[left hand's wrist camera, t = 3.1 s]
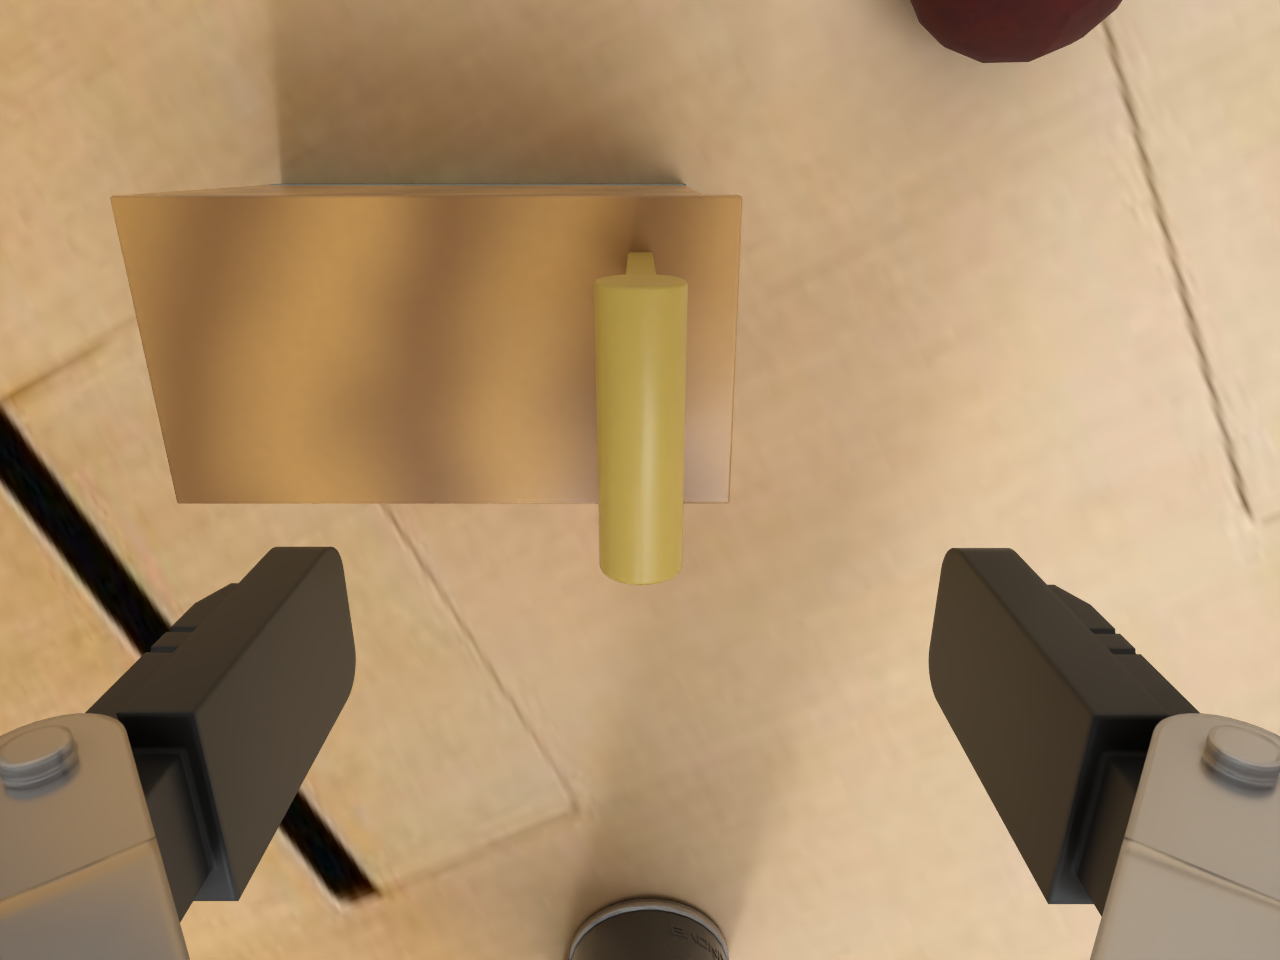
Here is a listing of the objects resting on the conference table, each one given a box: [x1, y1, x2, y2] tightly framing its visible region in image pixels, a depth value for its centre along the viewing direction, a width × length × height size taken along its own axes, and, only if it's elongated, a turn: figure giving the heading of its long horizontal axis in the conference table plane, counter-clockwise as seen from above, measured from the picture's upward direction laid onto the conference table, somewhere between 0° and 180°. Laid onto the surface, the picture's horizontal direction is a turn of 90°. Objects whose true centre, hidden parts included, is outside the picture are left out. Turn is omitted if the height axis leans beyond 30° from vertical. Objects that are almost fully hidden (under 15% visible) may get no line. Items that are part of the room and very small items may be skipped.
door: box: [110, 195, 742, 585], centre depth 21 cm, size 17×9×9 cm, turn 90°
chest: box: [135, 184, 701, 195], centre depth 30 cm, size 16×9×11 cm, turn 90°
